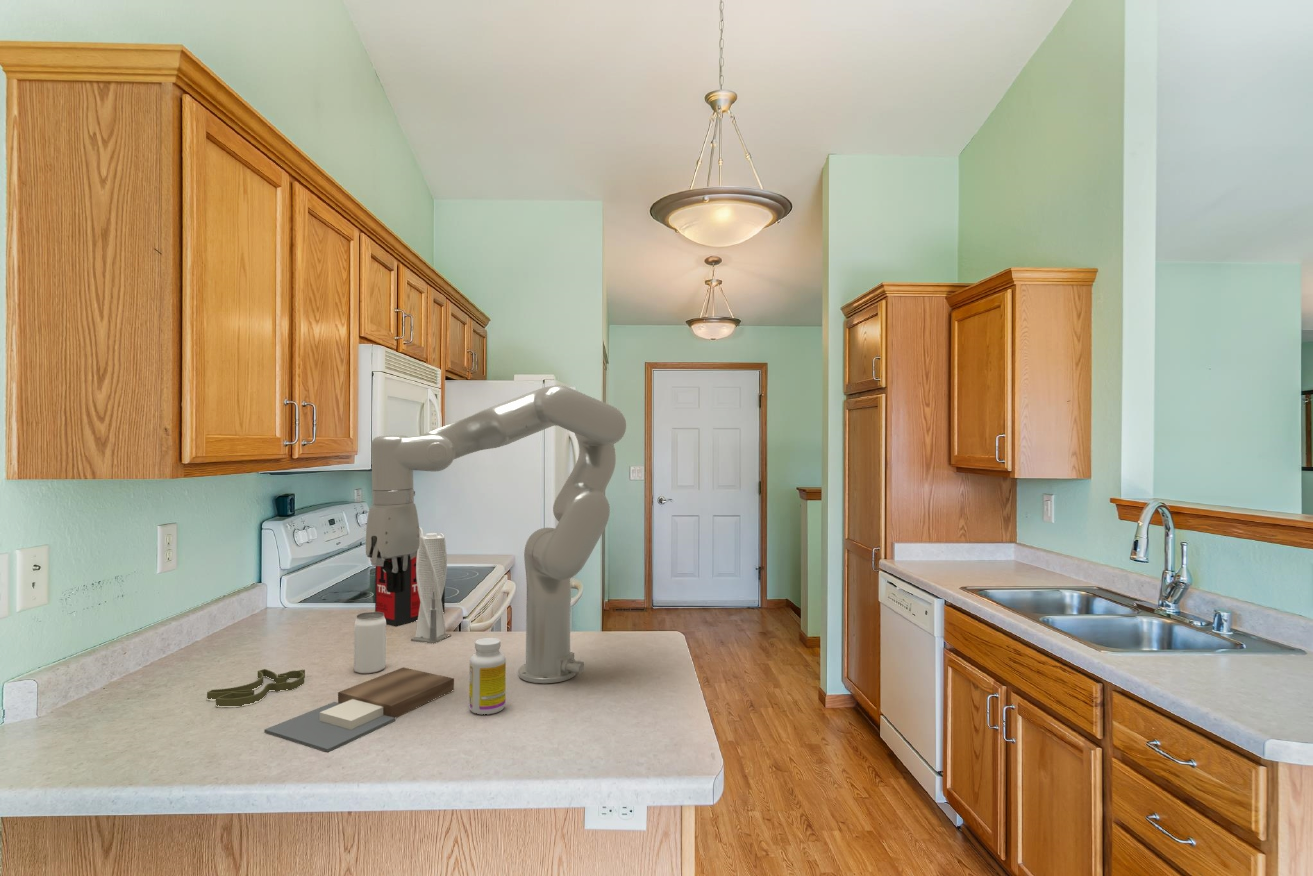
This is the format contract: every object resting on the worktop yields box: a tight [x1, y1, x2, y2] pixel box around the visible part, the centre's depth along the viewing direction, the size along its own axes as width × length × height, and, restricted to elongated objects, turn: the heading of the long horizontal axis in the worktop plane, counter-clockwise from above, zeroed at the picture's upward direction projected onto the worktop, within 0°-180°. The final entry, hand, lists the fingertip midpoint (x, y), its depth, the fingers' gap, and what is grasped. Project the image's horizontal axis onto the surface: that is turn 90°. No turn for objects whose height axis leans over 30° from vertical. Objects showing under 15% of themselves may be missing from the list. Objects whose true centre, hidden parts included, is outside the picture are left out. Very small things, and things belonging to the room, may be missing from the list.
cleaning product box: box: [374, 556, 446, 628], centre depth 194 cm, size 16×9×20 cm, turn 149°
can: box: [353, 611, 387, 675], centre depth 151 cm, size 6×6×12 cm
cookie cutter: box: [206, 668, 306, 706], centre depth 137 cm, size 18×12×2 cm, turn 166°
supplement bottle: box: [468, 637, 507, 715], centre depth 130 cm, size 7×7×13 cm
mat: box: [263, 701, 396, 753], centre depth 121 cm, size 16×14×1 cm
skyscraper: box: [410, 526, 452, 645], centre depth 175 cm, size 8×8×28 cm
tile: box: [320, 699, 383, 729], centre depth 124 cm, size 8×7×2 cm
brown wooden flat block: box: [337, 667, 455, 719], centre depth 135 cm, size 14×16×2 cm
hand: (395, 591), depth 135 cm, fingers closed
